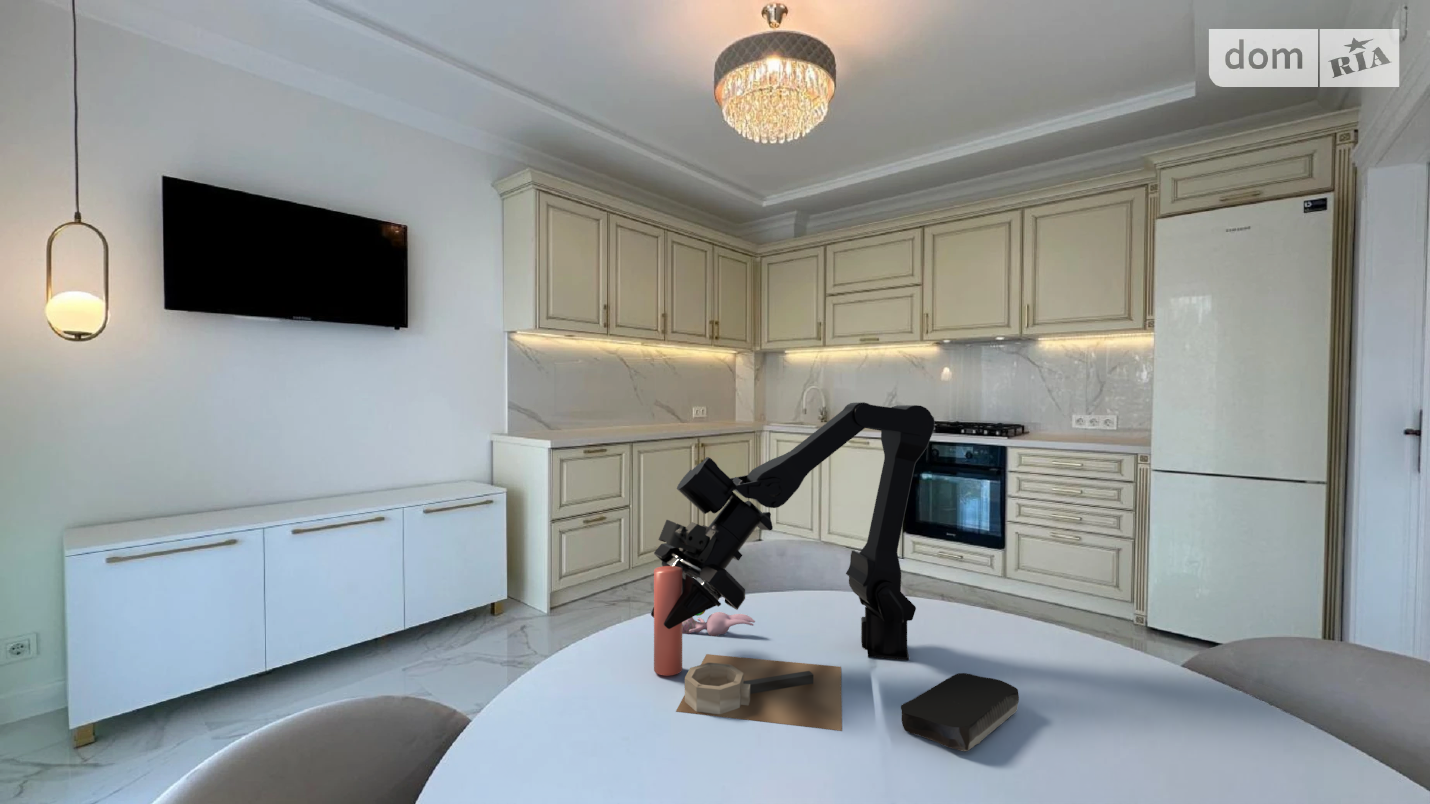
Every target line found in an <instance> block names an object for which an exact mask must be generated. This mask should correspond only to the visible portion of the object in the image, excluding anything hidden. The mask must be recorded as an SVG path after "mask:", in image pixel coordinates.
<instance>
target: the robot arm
mask: <svg viewBox="0 0 1430 804" xmlns="http://www.w3.org/2000/svg"><path fill="white" fill-rule="evenodd" d="M935 424H936V423H935V417H934V416H933V415H932V413H931V411H929V409H928V408H927V407H925V406H922V405H919V404H918V405H915V404H913V405H912V404H911V405H908V404H906V405H905V404H904V405H900V404H899V405H898V404H897V405H893V406H891V407H890V406H889V407H888V406H881V405H875V404H870V403H867V402H861V401H860V402H850V403H848V404H846V406H845V407H843V409H842V410H841V411H840V412H838V413H837V414H836V415H835V416H834V417H832V418H831V419H830V420H828V421H827V422H826V423H824V424H823V425H822V426H821V427H819V428H818V429H816V430H815V431H814V432H813V433H812V434H811V435H809V436H808V437H806V438H805V439H804V440H803V441H802V442H800V443H799V444H797V445H796V446H795V447H794V448H793V449H791V450H790V451H788V452H786V453H785V454H781V455H779V456H776V457H774V458H771V459H770V460H768V461H766V462H763V463H762V464H759V465H758V466H756V467H755V468H753V469H751V470H750V472H749V473H748V474H747V475H746V474H745V475H741V476H735V477H729V476H728V475H727V474H726V473H725V472H724V471H723V470H722V469H721V468H720V467H719V466H718V464H717V462H715V461H714V460H713V459H712V458H711V457H708V456H706V458H704V459H703V461H701V462H700V463H698V464H697V465H696V466H695V467H693V468H692V469H690V470H688V472H687V473H686V474H685V475H684V476H683V478H682V479H681V480H680V481H679V483H678V484H677V487H676V489H677V491H678V492H679V493H681V494H682V496H684V497H685V498H686V499H687V500H688V501H689V502H690V503H691V504H692V505H694V506H695V507H696V508H697V509H698V510H699V511H700V512H701V513H702V514H703V515H706V514H709V513H710V512H711V513H712V514H713V515H714V514H717V513H718V512H719V513H718V514H717V516H715V518H714V519H713V520H712V522H711V523H710V524H709V526H707V525H704V524H703V525H700V524H698V523H696V522H693V521H692V522H690V523H689V524H688V525H687V526H685V525H682V524H679V523H677V522H674V521H671V520H669V519H665V523H664V525H663V528H662V530H661V532H660V535H659V537H658V541H660V542H664V543H661V544H660V545H659V546H658V547H657V548H656V550H655V551H654V552H653V554H654V555H655V557H657V559H659V560H660V561H661V567H662V566H676V567H680V568H682V594H681V596H680V598H679V599H678V601H677V602H676V604H675V605H674V607H673V608H672V610H671V612H670V613H669V615H668V617H667V618H666V620H665V622H664V626H665V627H666V628H668V629H671V628H673V627H674V626H676V625H678V624H680V623H682V622H684V621H686V620H688V619H689V618H691V617H693V618H694V617H696V616H695V615H697V614H699V613H701V612H703V611H705V612H706V611H708V610H710V609H712V608H714V607H720V606H721V605H722V603H721V602H720V601H719V600H720V599H721V597H723V598H724V603H725V604H726V605H727V606H728V607H731V608H732V609H734V610H736V611H738V610H739V608H740V607H741V606H742V604H744V603H743V602H744V601H745V600H746V588H745V587H744V586H743V585H742V584H741V583H740V582H739V581H737V579H736V578H734V576H732V574H731V573H730V572H729V571H727V567H728V565H730V563H731V562H732V561H733V559H734V560H736V561H740V559H742V556H743V554H742V553H741V552H740V550H741V548H742V547H743V546H744V544H745V543H747V542H746V541H748V539H749V538H750V536H751V535H752V534H753V532H754V531H755V529H757V527H758V529H759V530H761V531H773V521H772V518H771V517H772V516H771V515H772V514H771V512H770V511H763V512H762V510H760V509H759V507H757V506H756V505H755V504H754V503H753V502H752V501H751V500H754V501H755V502H756V503H758V504H760V505H762V506H763V507H765V508H770V509H772V508H773V509H777V508H779V507H782V506H784V505H785V504H786V503H787V502H788V501H789V500H790V499H791V497H793V495H794V494H795V493H796V492H797V491H798V490H799V488H800V486H801V485H802V483H803V481H804V480H805V479H806V476H808V474H809V473H810V472H811V471H813V470H814V469H816V467H818V466H819V465H820V464H822V463H823V462H824V461H825V460H826V459H828V458H829V457H830V456H831V455H833V454H834V453H835V452H836V451H838V450H839V449H841V448H842V447H843V446H844V445H846V444H847V443H848V442H849V441H850V440H852V439H853V438H854V437H856V436H857V435H858V434H859V433H860V432H862V431H863V430H864V429H868V430H874V431H880V432H881V434H880V441H881V446H882V450H883V454H884V459H883V465H882V468H881V474H880V477H879V483H878V488H877V493H876V499H875V503H874V507H873V513H872V516H871V517H872V518H871V521H870V527H869V532H868V537H867V541H866V543H865V545H864V546H863V548H862V549H861V550H860V551H859V552H858V551H855V550H852V551H851V552H850V558H849V559H850V560H849V561H850V563H849V566H848V569H847V570H846V573H845V575H847V576H848V584H849V587H850V589H851V590H852V592H853V593H854V594H855V595H856V596H858V599H859V602H860V604H861V605H863V606H865V607H864V616H862V617H860V618H861V620H860V624H861V625H860V628H861V629H860V631H861V633H860V637H861V638H860V639H861V640H860V641H861V642H860V643H861V648H863V649H864V650H865V651H867V657H868V658H876V659H877V658H878V659H886V660H887V659H890V660H899V661H910V655H909V651H908V622H909V621H912V620H913V619H914V615H915V613H916V610H917V607H916V605H915V604H914V603H912V602H911V601H910V599H909V598H908V597H906V595H904V593H902V591H901V589H902V569H901V563H900V561H899V560H900V559H899V556H898V555H899V554H898V550H899V549H898V548H899V546H900V545H899V544H900V541H901V540H900V539H901V534H902V529H903V525H904V520H905V514H906V510H907V505H908V502H909V500H908V499H909V495H910V491H911V485H912V481H913V477H914V476H913V475H914V472H915V466H916V463H917V462H918V461H919V459H920V458H921V456H923V454H924V453H925V450H926V449H928V446H929V443H930V440H931V439H932V436H933V433H934V430H935ZM735 492H736V493H738V494H739V495H740V496H743V498H744V499H749V500H747V501H743V499H742V498H740V497H739V496H738V495H737V494H736V493H735ZM750 499H751V500H750ZM650 616H651V617H653V619H654V606H653V608H652V610H651V612H650Z"/></svg>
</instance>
